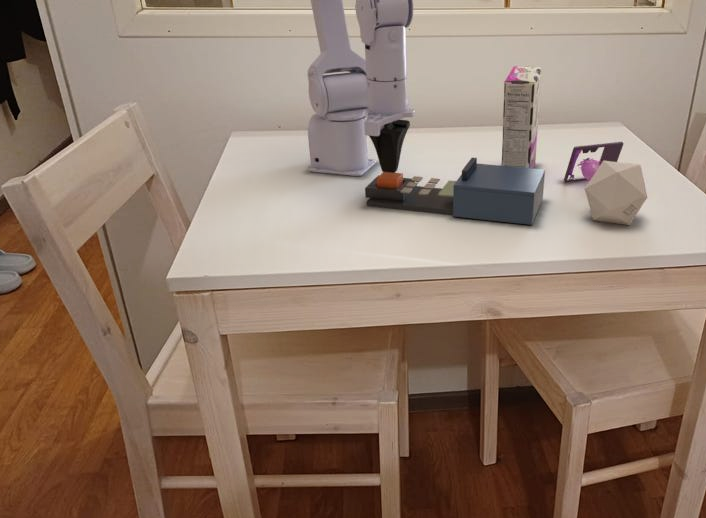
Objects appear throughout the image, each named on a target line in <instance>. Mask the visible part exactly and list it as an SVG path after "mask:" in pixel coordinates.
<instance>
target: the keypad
mask: <svg viewBox="0 0 706 518" xmlns="http://www.w3.org/2000/svg"><path fill="white" fill-rule="evenodd" d="M423 179H424V177H423V176H413V177H411V181H412V182H409V183H408V184H407V185H406V187H404V188H403V189H402V190H401V193H410V192H411V191H412V190H413V188H415V187H416V186H418V184H419V183H420V182H421V181H422V180H423ZM440 181H441V178H435V177H431V178H430V179H429V180H428V181H427V183H426V184H425V185H424V186H422V187H423V189H422V190H421V191H420V192H419V194H420V195H428V194H429V193H430V192H431V190H427V189H433V188H436V186H437V184H438V183H439V182H440ZM456 181H457V180H448V181H447V182H446V183H445V184H444V186H443V187H442V190H441V191H440V192H439V194H438V196H448V197H453V189H454V188H453V187H454V184H455V182H456ZM407 187H412V188H407Z"/></svg>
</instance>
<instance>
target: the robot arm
mask: <svg viewBox="0 0 706 518" xmlns="http://www.w3.org/2000/svg"><path fill="white" fill-rule="evenodd" d="M310 4H311V10H312V15H313V21H314V25H315V30H316V36H317V41H318V46H319V50H320V51H319V52H320V54H319V55H318V56H317V57H316V59H314V60H313V61H312V63H311V64H310V65H309V67H308V70H307V80H308V98H309V102H310V105H311V108H312V110H313V111H314V114H312V115H311V116H310V118H309V121H308V125H307V139H308V140H307V141H308V150H309V163H310V168H309V170H308V171H309V172H310V173H322V174H330V175H342V176H350V177H351V176H352V177H362V176H363V175H365V174H366V173H367V172H368V171H369V170H370V169H372V167H374V165H375V164H377V160H378V162H379V166H380V169H381V172H382V173H383V172H390V173H397V171H398V169H399V164H400V159H401V154H402V148H403V144H404V141H405V137H406V135H407V132H408V131H409V129H410V125H411V122H410V120H408V119H406V118H413V117H414V116H415V115H416V110H415V109H414V108H413V109H412V108H410V106H409V105H410V98H409V97H408V90H407V89H408V87H407V85H408V83H407V35H406V34H407V33H406V32H407V31H406V29H407V28H408V27H410V25H411V24H412V21H413V18H414V17H413V16H414V1H413V0H355V4H354V8H355V15H356V19H357V22H358V25H359V26H358V27H359V32H360V33H359V34H360V39H361V43H363V44H364V55H365V59H364V57H362V56H361V55H359V54H358V53H356V51H354V50H352V48H351V47H352V46H351V42H350V41H351V40H350V36H349V30H348V25H347V20H346V13H345V9H344V4H343V0H310ZM404 118H405V119H404ZM368 137H369V138H370V140H371V142H372V145H373V146H374V149H375V152H376V155H377V160H376V159H369V154H368Z"/></svg>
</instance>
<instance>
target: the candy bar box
mask: <svg viewBox="0 0 706 518" xmlns="http://www.w3.org/2000/svg"><path fill="white" fill-rule="evenodd" d="M541 75H542V67H540V66H527V65H525V66H522V65H517V66H513V67H512V68H511V70H510V71H509V73H508V75H507V76H506V78H505V80H504V81H503V84H504V85H503V86H504V87H503V109H502V110H503V113H502V114H503V116H502V142H501V144H502V146H501V166H511V167H522V168H533V169H535V167H536V159H537V141H538V126H539V125H538V124H539V112H540V111H539V110H540V95H541V93H540V92H541V78H542V77H541Z"/></svg>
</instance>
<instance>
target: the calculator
mask: <svg viewBox="0 0 706 518" xmlns="http://www.w3.org/2000/svg"><path fill="white" fill-rule="evenodd" d="M380 175H381V174H379V175H377V176H376V177H375V178H373V180H372V181H370V183H368V184H367V185H366V186H365V187H364V191H365V192H364V195H365V196H364V197H365V198H366V199H367V200H366V207H368V208H379V209H388V210H397V211H408V212H417V213H427V214H436V215H444V216H453V197H448V196H438V194H439V192H440V191H441V190H442V188H443V187H442V188H441V187H434V188H433V189H427V190H431V192H430V193H429V194H428V195H420V194H419V192H420V191H421V190H422V189H423V187H424V186H420V185H416V187H415V188H413V190H412V191H411V192H410V193H401V190H402V189H403V188H404V187H406V185H407V184H408V183H409V182H412V181H411V179H412V177H411V178H409V177H403V184H402V185H401V186H400V187H399V188H388V187H378V186H377V178H378V177H379V176H380ZM407 188H412V187H407Z"/></svg>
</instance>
